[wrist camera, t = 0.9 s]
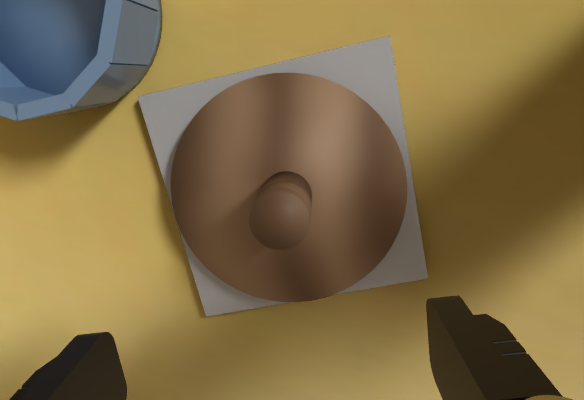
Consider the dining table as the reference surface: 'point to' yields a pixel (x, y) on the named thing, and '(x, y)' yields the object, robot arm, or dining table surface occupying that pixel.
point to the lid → (288, 187)
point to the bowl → (73, 53)
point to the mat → (330, 65)
